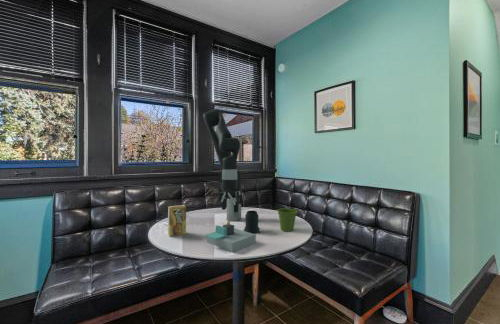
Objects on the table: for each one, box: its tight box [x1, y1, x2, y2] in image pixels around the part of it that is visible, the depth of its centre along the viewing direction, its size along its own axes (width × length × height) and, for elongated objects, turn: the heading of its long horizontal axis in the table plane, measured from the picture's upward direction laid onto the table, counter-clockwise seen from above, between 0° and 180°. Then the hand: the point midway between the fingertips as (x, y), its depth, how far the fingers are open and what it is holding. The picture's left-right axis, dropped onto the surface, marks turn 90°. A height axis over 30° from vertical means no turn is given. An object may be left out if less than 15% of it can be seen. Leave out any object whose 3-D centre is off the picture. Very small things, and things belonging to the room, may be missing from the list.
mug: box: [243, 210, 261, 234], centre depth 130 cm, size 12×9×11 cm
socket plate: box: [206, 227, 257, 253], centre depth 111 cm, size 16×18×4 cm
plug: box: [222, 220, 235, 236], centre depth 113 cm, size 4×4×10 cm
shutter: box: [205, 224, 227, 240], centre depth 107 cm, size 7×7×4 cm
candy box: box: [167, 204, 187, 237], centre depth 123 cm, size 9×4×15 cm, turn 119°
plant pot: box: [276, 208, 298, 232], centre depth 132 cm, size 12×12×11 cm
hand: (229, 210), depth 113 cm, fingers open, 8 cm apart
